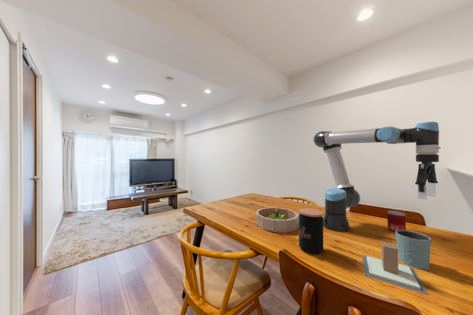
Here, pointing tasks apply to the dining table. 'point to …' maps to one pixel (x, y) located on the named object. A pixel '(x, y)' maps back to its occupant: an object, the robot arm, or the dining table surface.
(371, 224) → the dining table surface
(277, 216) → the plant
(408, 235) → the blue pot
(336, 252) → the dining table surface
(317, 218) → the coffee jar
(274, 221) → the cachepot ring
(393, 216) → the canned food
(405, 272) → the lid
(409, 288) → the mat
